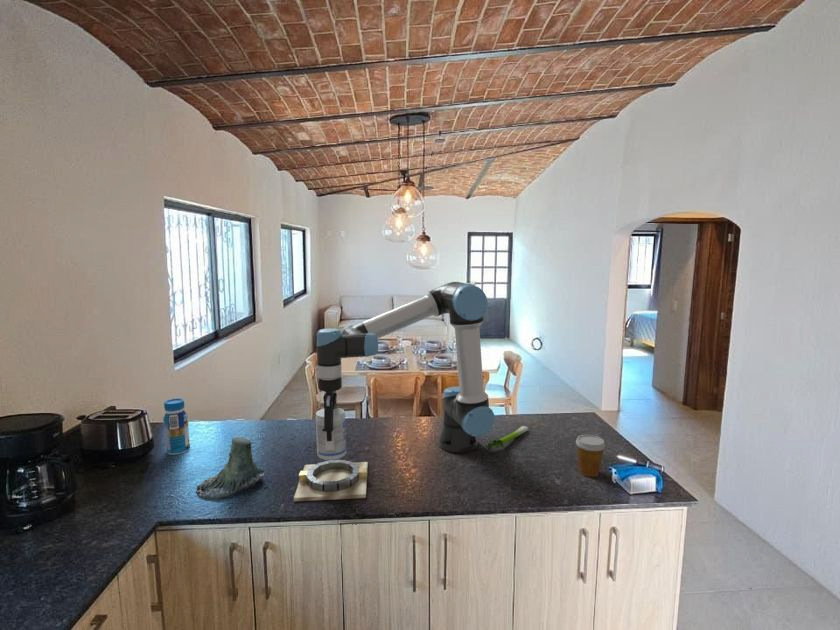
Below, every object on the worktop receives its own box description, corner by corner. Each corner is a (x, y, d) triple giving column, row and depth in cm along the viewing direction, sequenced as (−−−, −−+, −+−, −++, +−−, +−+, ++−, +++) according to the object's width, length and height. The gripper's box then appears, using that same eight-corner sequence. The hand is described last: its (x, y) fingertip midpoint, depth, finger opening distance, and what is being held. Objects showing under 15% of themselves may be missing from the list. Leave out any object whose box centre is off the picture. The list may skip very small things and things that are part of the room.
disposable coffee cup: (603, 468, 165) (605, 436, 164) (604, 481, 157) (606, 447, 155) (574, 464, 169) (576, 432, 167) (574, 477, 160) (575, 443, 158)
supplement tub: (351, 456, 155) (350, 413, 152) (323, 464, 149) (322, 419, 147) (339, 446, 163) (338, 405, 160) (312, 452, 157) (311, 410, 155)
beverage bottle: (160, 453, 180) (156, 403, 177) (179, 444, 188) (175, 396, 184) (177, 457, 177) (172, 405, 174) (195, 448, 184) (191, 398, 181)
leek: (532, 437, 198) (499, 457, 174) (516, 435, 202) (482, 455, 178) (531, 422, 198) (498, 441, 174) (515, 421, 202) (481, 438, 178)
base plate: (367, 465, 169) (367, 461, 169) (365, 497, 148) (365, 494, 147) (305, 467, 167) (305, 464, 167) (294, 501, 146) (293, 497, 146)
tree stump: (200, 477, 162) (210, 427, 162) (260, 482, 168) (270, 433, 168) (191, 502, 145) (202, 446, 144) (259, 507, 151) (270, 452, 150)
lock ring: (367, 465, 167) (366, 458, 166) (365, 490, 150) (365, 482, 149) (304, 468, 165) (303, 461, 164) (295, 493, 148) (295, 486, 148)
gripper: (322, 368, 163) (323, 430, 166) (312, 387, 141) (315, 458, 144) (344, 367, 163) (345, 429, 167) (338, 386, 141) (340, 457, 145)
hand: (331, 442), depth 155 cm, fingers closed on supplement tub, 10 cm apart
